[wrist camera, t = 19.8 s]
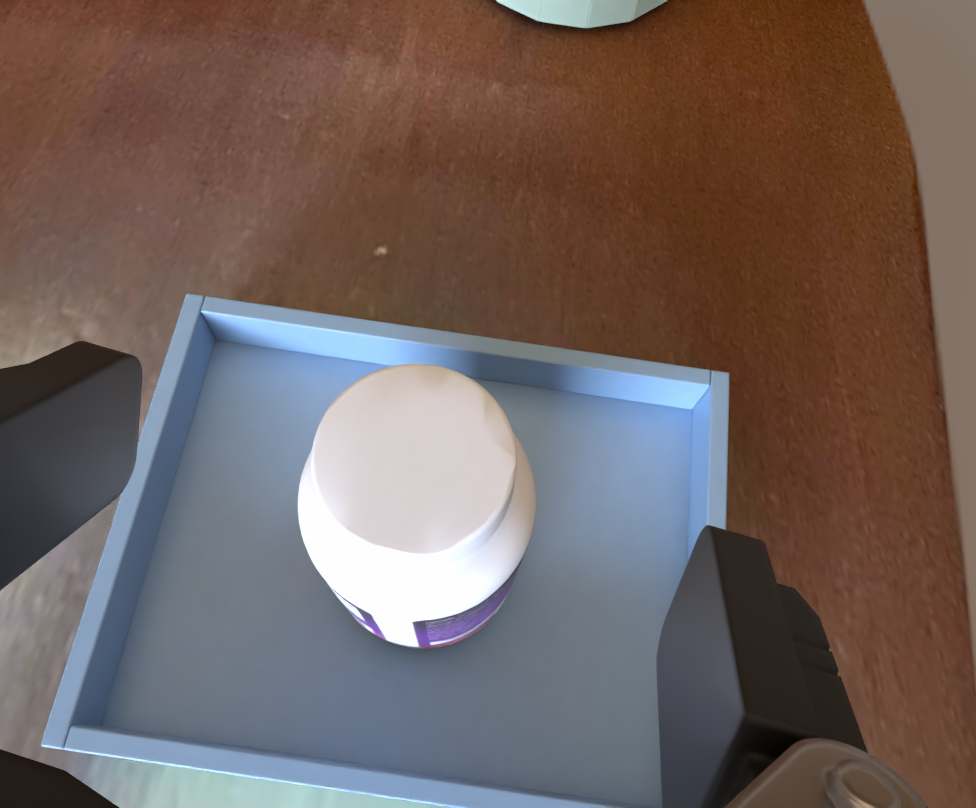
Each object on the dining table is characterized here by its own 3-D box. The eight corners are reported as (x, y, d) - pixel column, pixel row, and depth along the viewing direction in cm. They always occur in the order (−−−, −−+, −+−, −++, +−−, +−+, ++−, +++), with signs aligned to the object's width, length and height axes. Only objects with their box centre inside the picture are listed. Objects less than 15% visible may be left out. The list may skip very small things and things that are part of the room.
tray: (705, 402, 27) (730, 371, 25) (691, 836, 22) (720, 847, 20) (207, 329, 27) (185, 292, 25) (80, 745, 22) (38, 746, 20)
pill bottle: (525, 488, 25) (570, 353, 16) (500, 665, 23) (536, 621, 14) (356, 460, 25) (309, 310, 16) (316, 634, 23) (237, 571, 14)
